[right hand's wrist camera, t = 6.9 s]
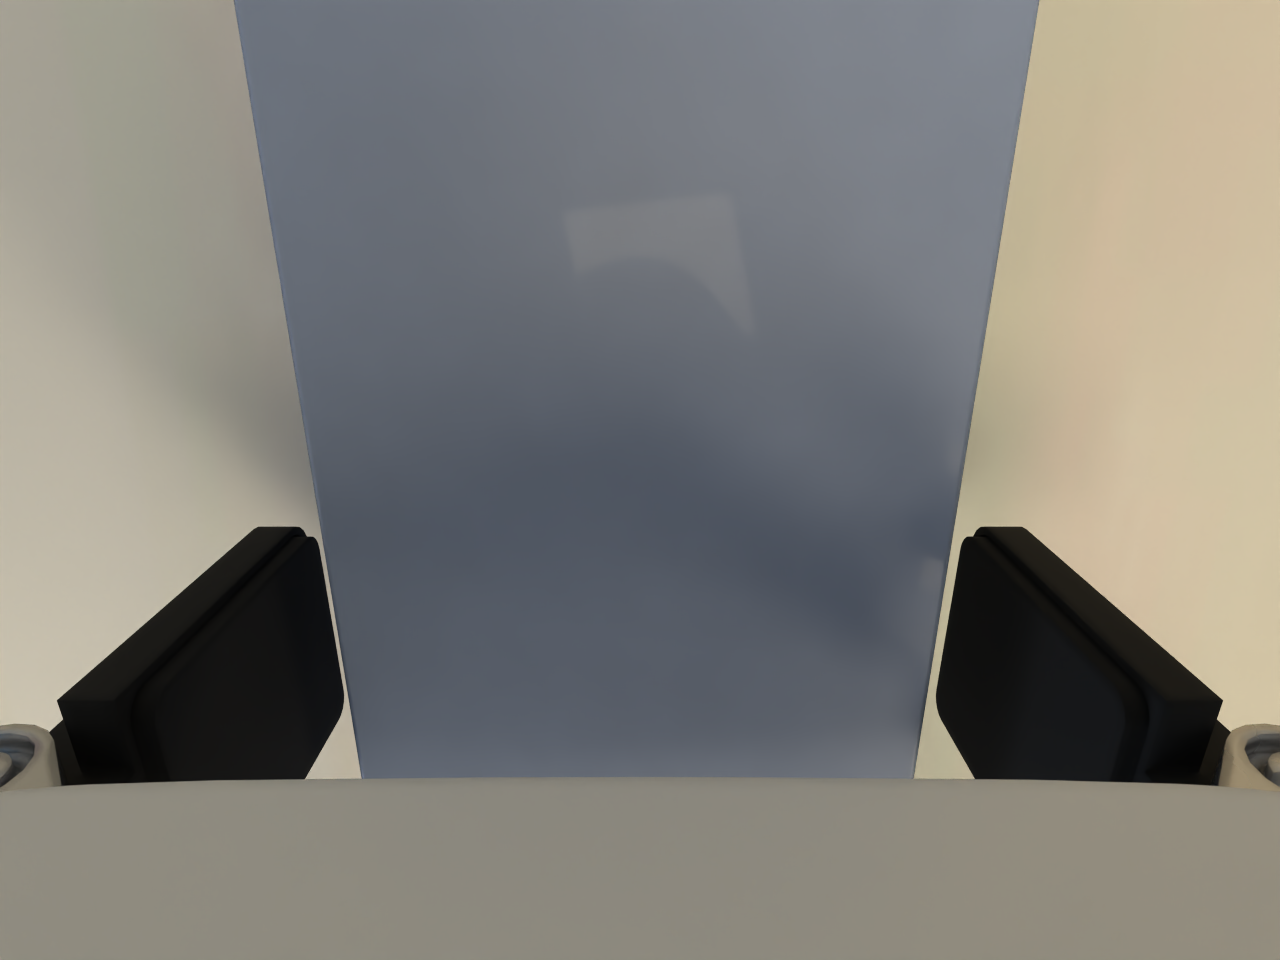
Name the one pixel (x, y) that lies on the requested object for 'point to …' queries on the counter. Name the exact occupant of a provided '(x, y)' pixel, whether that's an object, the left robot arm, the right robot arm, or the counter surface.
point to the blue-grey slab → (637, 364)
